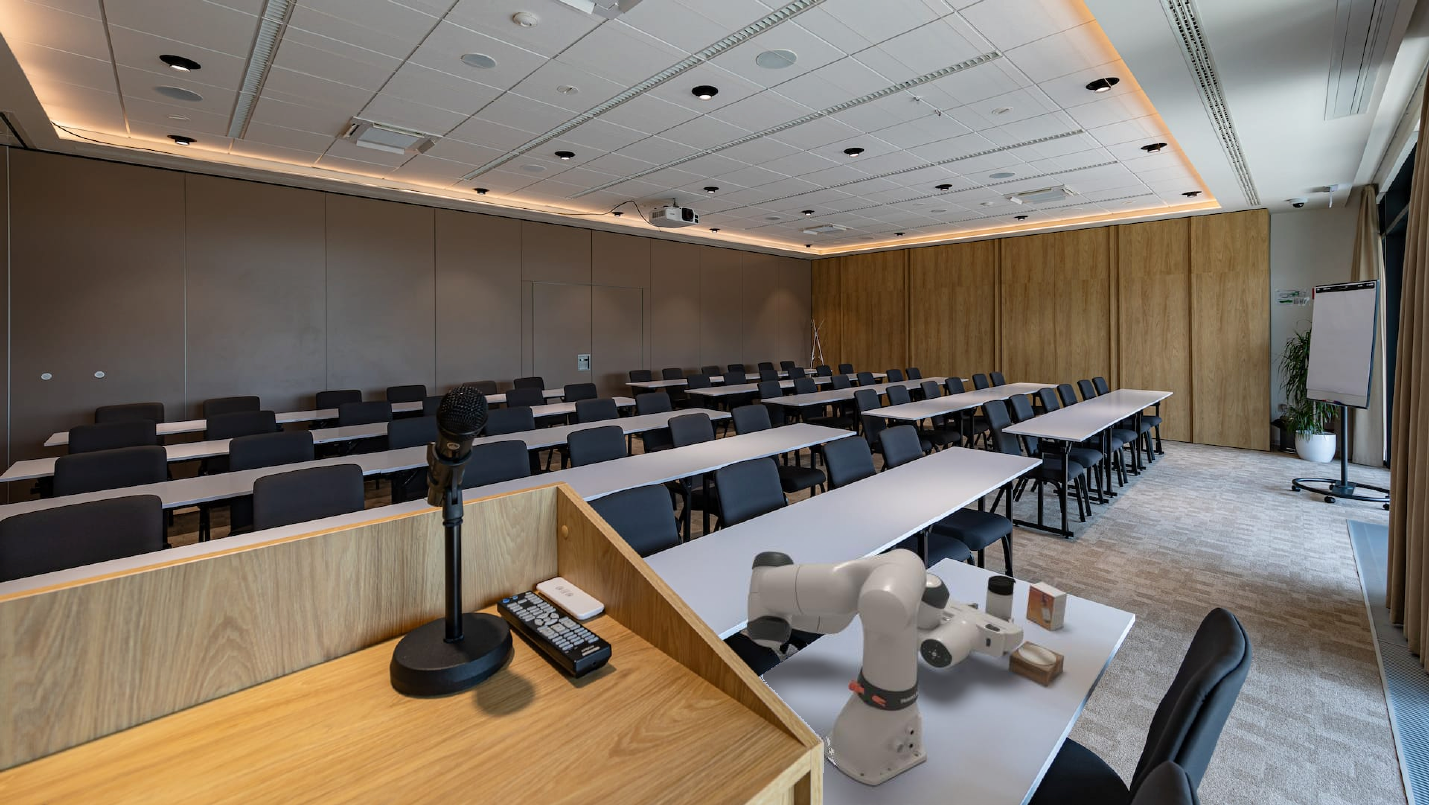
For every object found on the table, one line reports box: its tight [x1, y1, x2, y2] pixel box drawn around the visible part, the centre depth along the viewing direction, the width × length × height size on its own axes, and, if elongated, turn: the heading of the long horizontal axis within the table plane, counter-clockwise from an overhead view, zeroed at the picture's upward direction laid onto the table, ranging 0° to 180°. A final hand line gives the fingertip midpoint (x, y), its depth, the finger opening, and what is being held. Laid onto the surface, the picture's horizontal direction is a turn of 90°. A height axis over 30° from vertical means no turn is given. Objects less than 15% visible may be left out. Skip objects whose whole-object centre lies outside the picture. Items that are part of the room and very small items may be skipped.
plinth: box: [1008, 640, 1065, 687], centre depth 153 cm, size 10×9×4 cm
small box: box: [1025, 581, 1068, 632], centre depth 175 cm, size 8×6×10 cm
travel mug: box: [984, 574, 1017, 655], centre depth 161 cm, size 6×7×20 cm
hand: (993, 612), depth 161 cm, fingers open, 8 cm apart
